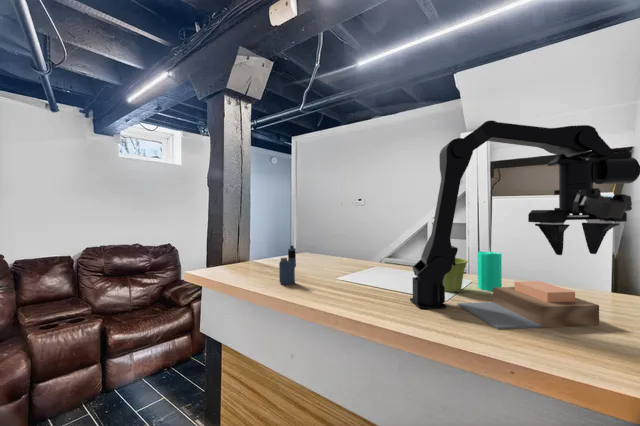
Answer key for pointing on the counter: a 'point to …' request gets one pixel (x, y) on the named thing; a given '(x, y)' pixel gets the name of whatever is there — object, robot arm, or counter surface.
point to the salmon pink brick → (545, 291)
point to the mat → (498, 315)
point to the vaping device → (288, 267)
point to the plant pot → (455, 276)
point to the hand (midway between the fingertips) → (576, 254)
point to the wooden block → (547, 309)
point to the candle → (489, 270)
